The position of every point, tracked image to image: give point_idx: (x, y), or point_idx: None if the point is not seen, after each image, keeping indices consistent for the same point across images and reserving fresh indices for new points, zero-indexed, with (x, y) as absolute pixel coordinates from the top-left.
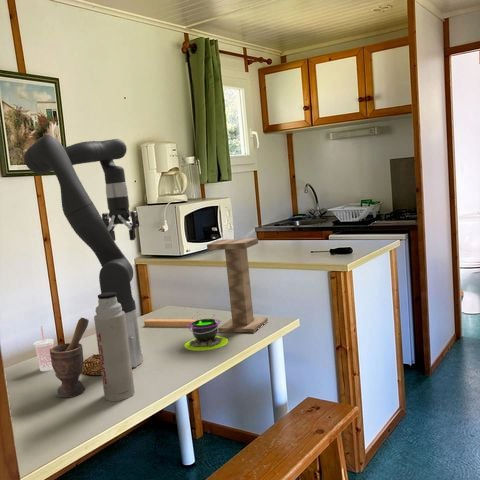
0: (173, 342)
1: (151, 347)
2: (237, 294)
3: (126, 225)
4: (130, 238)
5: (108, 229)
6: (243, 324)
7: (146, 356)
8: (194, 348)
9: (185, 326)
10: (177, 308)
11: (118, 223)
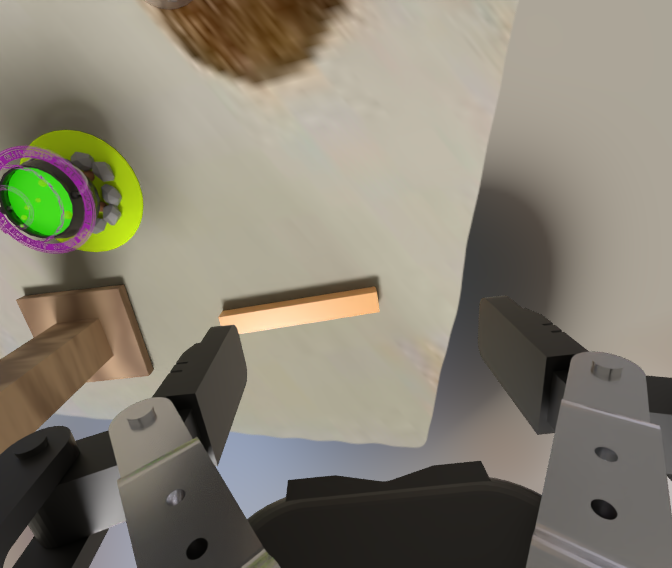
0: (180, 178)
1: (210, 122)
2: (6, 369)
3: (186, 446)
4: (218, 331)
5: (604, 363)
6: (66, 322)
7: (161, 41)
8: (74, 142)
9: (250, 306)
10: (389, 435)
11: (399, 483)
